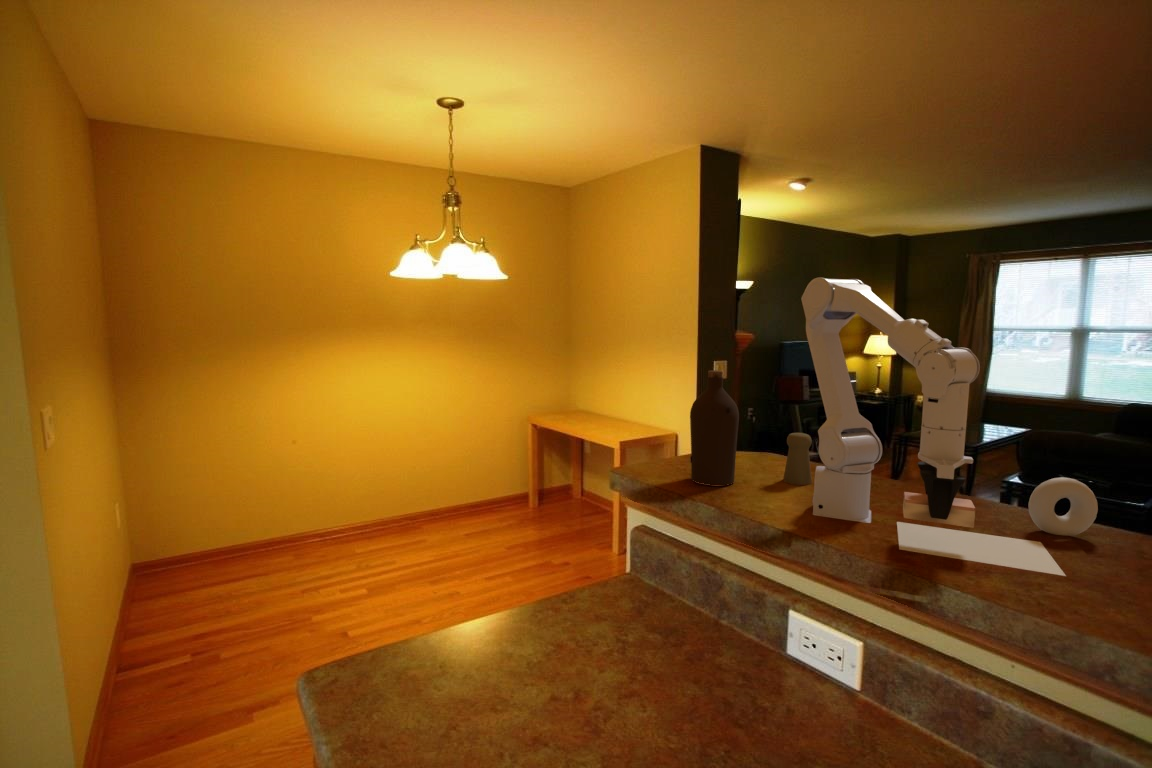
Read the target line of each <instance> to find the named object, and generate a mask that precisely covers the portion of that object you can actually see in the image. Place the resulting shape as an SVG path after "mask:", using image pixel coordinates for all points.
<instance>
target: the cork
mask: <svg viewBox="0 0 1152 768" xmlns="http://www.w3.org/2000/svg"><path fill="white" fill-rule="evenodd" d="M786 444H787V446H788V452H787V458H786V464H785V469H784V473H783V479H782V481H783V480H784V481H783V482H784V483H787V484H790V485H797V486H806V485H807V486H808V485H811V484H812V481H813V480H812V470H811V462H810V460H811V459H810V450H809V449H810V447H811V446H812V437H811V435H809V434H807V433H804V432H792V433H789V434H788V436H787V438H786Z"/></svg>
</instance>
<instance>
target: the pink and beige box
mask: <svg viewBox="0 0 1152 768" xmlns="http://www.w3.org/2000/svg"><path fill="white" fill-rule="evenodd" d="M902 503H903V504H902V514H903V518H904V519H909V520H915V521H917V520H918V521H924V522H930V523H931V522H932V523H938V524H944V525H945V524H946V525H951V526H952V525H953V526H958V527H966V528H971V529H974V528H975V518H976V517H975V516H976V507H975V505H974V503H973V501H972V499H965V498H957V497H955V498H954V501H953V504H952V507H951V510H950V513H949V516H948V518H947V520H944V519H937V518H931V516H930V512H929V506H928V496H927V495H926V493H917V492H909V491H904V492H903V502H902Z"/></svg>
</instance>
